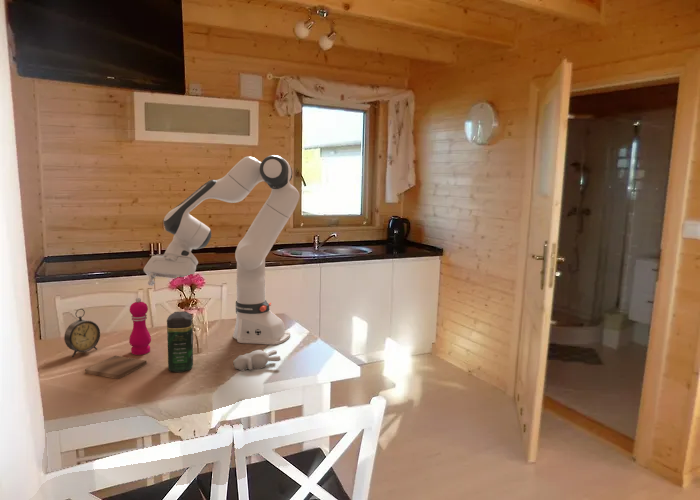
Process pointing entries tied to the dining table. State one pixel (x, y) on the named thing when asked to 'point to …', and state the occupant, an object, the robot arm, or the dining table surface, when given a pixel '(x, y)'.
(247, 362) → the bunny figurine
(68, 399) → the dining table surface
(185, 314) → the coffee jar
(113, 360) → the walnut board
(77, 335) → the alarm clock
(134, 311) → the pepper mill
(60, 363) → the dining table surface
